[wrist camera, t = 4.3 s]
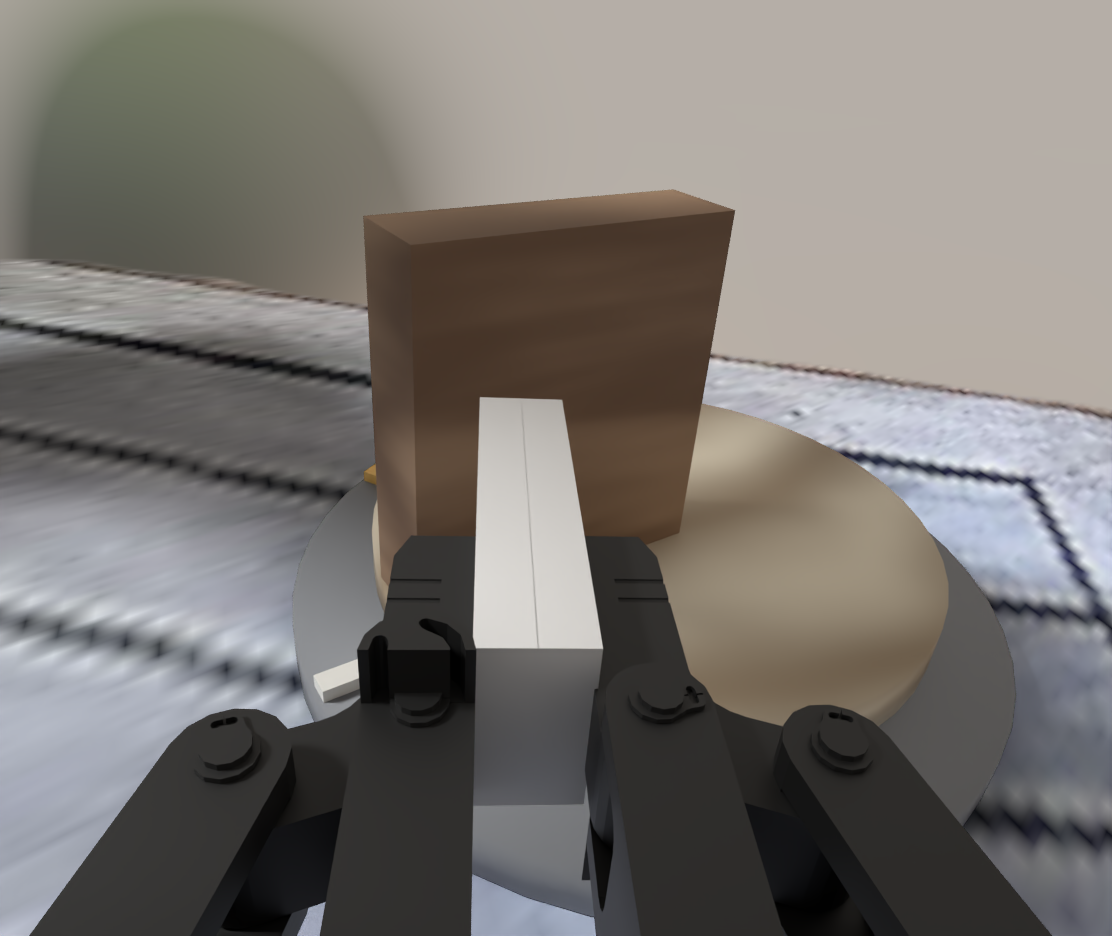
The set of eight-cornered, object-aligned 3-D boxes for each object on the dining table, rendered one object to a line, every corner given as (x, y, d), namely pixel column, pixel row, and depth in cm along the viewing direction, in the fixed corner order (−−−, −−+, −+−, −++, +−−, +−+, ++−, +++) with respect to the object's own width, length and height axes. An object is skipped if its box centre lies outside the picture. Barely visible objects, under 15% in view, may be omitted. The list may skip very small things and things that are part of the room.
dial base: (209, 526, 31) (202, 483, 30) (675, 406, 43) (680, 372, 42) (545, 1161, 15) (552, 1112, 14) (1143, 693, 27) (1169, 649, 26)
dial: (292, 490, 30) (255, 149, 24) (676, 394, 39) (717, 131, 33) (587, 907, 17) (661, 399, 11) (1052, 620, 26) (1225, 257, 20)
